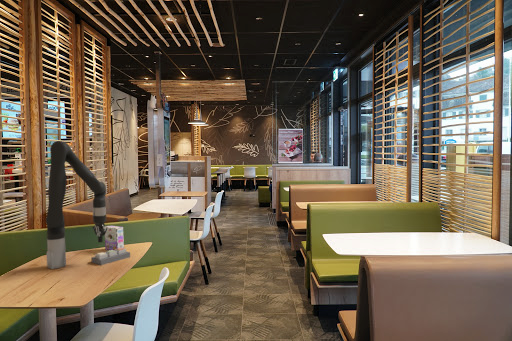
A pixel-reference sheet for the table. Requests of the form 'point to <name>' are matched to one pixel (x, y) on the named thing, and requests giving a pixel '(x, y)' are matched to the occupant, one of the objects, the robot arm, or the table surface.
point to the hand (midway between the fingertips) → (100, 242)
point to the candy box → (114, 238)
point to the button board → (110, 257)
